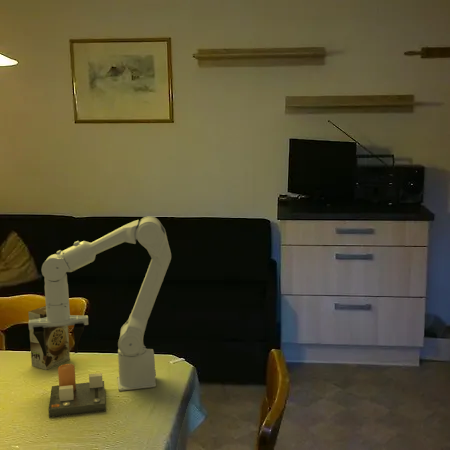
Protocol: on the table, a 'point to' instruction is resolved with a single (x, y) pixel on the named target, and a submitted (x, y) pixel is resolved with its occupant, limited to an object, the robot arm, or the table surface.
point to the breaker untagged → (95, 380)
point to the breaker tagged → (66, 393)
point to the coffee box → (49, 343)
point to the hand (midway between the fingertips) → (60, 353)
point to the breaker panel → (78, 401)
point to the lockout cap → (67, 375)
